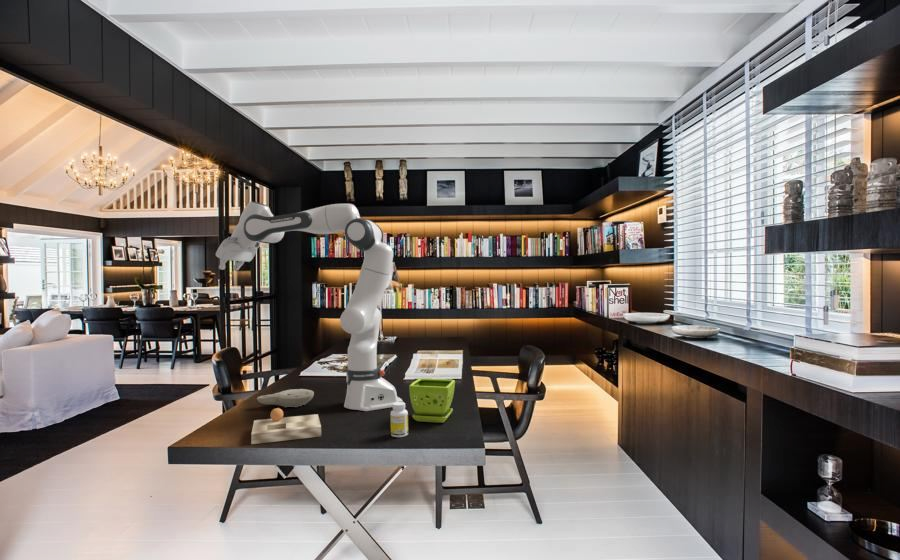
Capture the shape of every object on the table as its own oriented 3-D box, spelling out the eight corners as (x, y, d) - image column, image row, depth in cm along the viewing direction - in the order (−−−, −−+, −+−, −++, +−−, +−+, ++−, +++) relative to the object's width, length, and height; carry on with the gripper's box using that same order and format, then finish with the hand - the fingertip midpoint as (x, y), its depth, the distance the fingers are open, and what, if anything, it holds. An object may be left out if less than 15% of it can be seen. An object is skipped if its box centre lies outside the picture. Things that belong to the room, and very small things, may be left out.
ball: (283, 418, 157) (283, 406, 157) (283, 421, 153) (283, 409, 153) (270, 419, 155) (270, 407, 155) (270, 423, 152) (270, 410, 152)
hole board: (317, 422, 161) (317, 414, 161) (321, 436, 147) (321, 426, 147) (254, 429, 155) (254, 420, 155) (251, 444, 141) (251, 434, 141)
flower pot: (448, 425, 157) (448, 387, 157) (407, 423, 160) (407, 385, 160) (456, 414, 171) (456, 378, 171) (418, 412, 173) (418, 377, 173)
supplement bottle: (399, 431, 152) (399, 400, 152) (411, 434, 148) (411, 402, 148) (387, 435, 147) (386, 403, 147) (399, 438, 144) (399, 406, 144)
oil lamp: (256, 414, 173) (256, 400, 173) (256, 405, 187) (256, 392, 187) (316, 407, 181) (315, 394, 181) (312, 399, 195) (311, 387, 195)
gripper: (234, 240, 180) (218, 272, 181) (263, 244, 201) (248, 273, 201) (220, 232, 181) (205, 264, 182) (250, 237, 201) (236, 266, 202)
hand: (228, 269), depth 192 cm, fingers open, 8 cm apart
